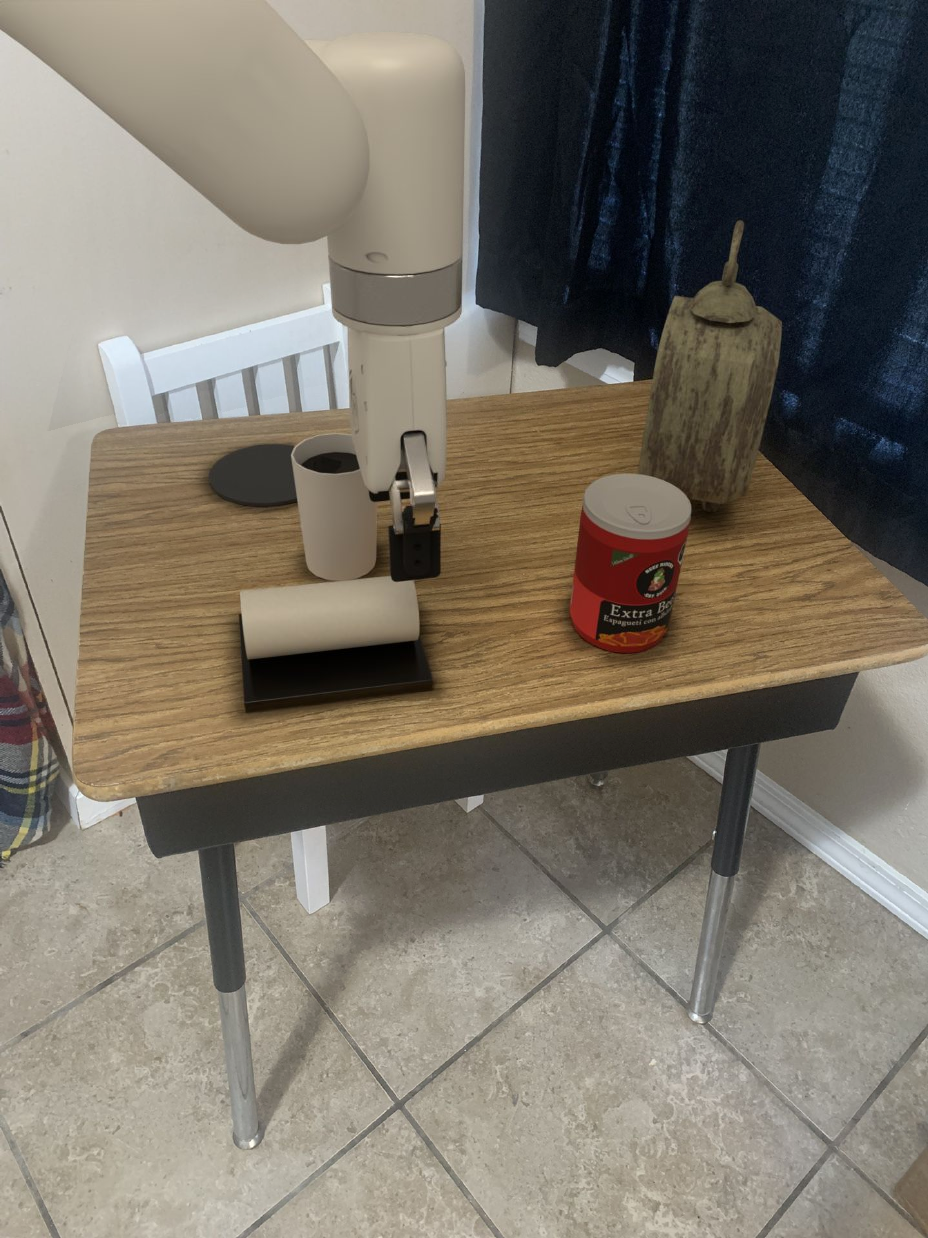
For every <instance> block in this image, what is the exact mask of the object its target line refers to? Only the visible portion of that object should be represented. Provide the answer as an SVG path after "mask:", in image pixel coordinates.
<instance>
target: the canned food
mask: <svg viewBox="0 0 928 1238" xmlns="http://www.w3.org/2000/svg"><path fill="white" fill-rule="evenodd" d="M691 515H692V504H691V501H690V499H689V498H687V496H686V495H685V494H684V493H683V492H682V491H681V490H680V489H678V488H677V487H675V486H674V485H672V484H670V483H668V482H666V481H664V480H661V479H658V478H655V477H651V476H647V475H640V474H638V473H615V474H610V475H605V476H602V477H600V478H597V479H596V480H594V481H593V482H591V483H590V484H589V485H587V487H586V489H585V491H584V495H583V498H582V504H581V510H580V516H579V517H580V518H579V526H578V536H577V545H576V553H575V561H574V570H573V578H572V587H571V596H570V603H569V613H570V619H571V622H572V626H573V627H574V629H575V631H576V632H577V634H578V635H579V636H580V637H581V638H583V639H584V640H585V641H586V642H588V643H589V644H590V645H592V646H595V647H596V648H599V649H602V650H605V651H609V652H613V653H614V652H615V653H622V654H631V653H639V652H642V651H646V650H649V649H651V648H653V647H655V645H657V644H659V642H660V641H661V639H662V638H663V637H664V635H665V634H666V632H667V631H668V629H669V625H670V622H671V617H672V612H673V607H674V604H675V603H674V602H675V598H676V593H677V588H678V583H679V578H680V574H681V570H682V569H681V568H682V564H683V559H684V553H685V550H686V545H687V540H688V535H689V531H690V524H691V518H692V516H691Z"/></svg>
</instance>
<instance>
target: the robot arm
mask: <svg viewBox="0 0 928 1238" xmlns="http://www.w3.org/2000/svg"><path fill="white" fill-rule="evenodd" d="M0 31H1V32H2V33H4V34H5V35H7V36H9V37H10V38H11V39H13V40H14V41H15V42H17V44H19V45H21V46H22V47H23V48H25V49H26V50H28V51H29V52H30V53H32V55H34V56H35V57H37V58H38V59H39V60H40V61H41V62H42V63H44V64H45V65H46V66H48V67H49V68H50V69H52V70H53V71H54V72H55V73H56V74H57V75H59V76H60V77H61V78H63V80H64V81H66V82H67V83H68V84H70V86H72V87H73V88H74V89H75V90H76V91H78V92H79V93H81V95H83V97H85V98H86V99H88V100H89V101H90V102H91V103H92V104H93V105H94V106H96V107H97V108H98V109H99V110H100V111H102V112H103V113H104V114H106V115H107V116H108V117H109V118H110V119H111V120H112V121H113V122H115V123H116V124H117V125H119V126H120V128H122V129H123V130H124V131H126V132H127V133H128V134H129V135H130V136H131V137H132V138H134V139H135V140H136V141H138V143H140V144H141V145H142V146H143V147H145V148H146V149H147V150H148V151H149V152H150V153H152V154H153V155H154V156H155V157H156V158H158V159H159V160H160V161H161V162H163V163H164V164H165V165H166V166H167V167H168V168H169V169H171V170H172V172H174V173H175V174H176V175H178V176H179V177H180V178H181V179H182V180H183V181H185V182H186V183H187V184H188V185H190V186H191V187H192V188H193V189H194V190H195V191H197V192H198V193H199V194H200V195H202V196H203V198H205V199H206V200H207V201H208V202H210V203H211V204H212V205H213V206H214V207H215V208H217V210H218V211H220V212H221V213H222V214H223V215H224V216H226V217H227V218H228V219H229V220H231V221H232V223H234V224H235V225H236V226H237V227H239V228H241V229H242V230H243V231H245V232H247V233H248V234H250V235H252V236H255V237H257V238H259V239H261V240H263V241H266V242H271V243H274V244H275V243H276V244H280V245H303V244H308V243H313V242H316V241H319V240H321V239H323V238H326V239H327V253H328V256H327V257H328V259H327V260H328V270H329V271H328V273H329V286H330V287H329V288H330V300H331V301H330V302H331V313H332V317H333V318H334V319H335V320H336V321H337V322H338V323H340V324H341V325H342V326H345V327H347V366H348V396H349V397H348V398H349V401H348V404H349V429H350V434H351V435H352V440H353V444H354V448H355V452H356V456H357V460H358V463H359V467H360V471H361V474H362V478H363V481H364V484H365V486H366V487H367V489H369V497H370V500H371V501H372V502H377V503H381V502H389V503H390V510H391V511H390V512H391V519H392V524H390V525H387V530H388V552H389V553H388V555H389V558H388V560H389V576H391V579H392V580H393V581H394V582H402V581H411V580H414V581H416V580H417V581H419V580H427V579H435V578H438V577H439V576H440V575H441V573H442V572H441V570H442V568H441V565H442V564H441V563H442V562H441V561H442V559H441V555H442V554H441V553H442V549H441V548H442V543H441V542H442V524H441V521H440V512H439V511H440V510H439V504H438V503H439V502H438V495H437V488H438V487H440V486H441V485H442V484H443V483H444V482H445V479H446V471H447V457H448V455H447V454H448V453H447V452H448V451H447V450H448V449H447V448H448V411H447V410H448V403H447V402H448V401H447V397H448V395H447V366H448V365H447V364H448V363H447V360H446V337H445V335H446V333H445V328H446V327H449V326H451V325H452V324H454V323H455V322H456V321H458V319H460V318H461V315H462V311H463V305H462V304H463V253H464V252H463V251H464V249H463V248H464V247H463V245H464V188H465V185H464V184H465V132H466V130H465V129H466V126H465V125H466V71H465V66H464V62H463V59H462V56H461V55H460V53H459V52H458V50H457V48H456V47H455V46H454V45H453V44H451V43H450V42H449V41H447V40H445V39H443V38H441V37H438V36H435V35H432V34H431V35H430V34H425V33H417V32H411V31H410V32H408V31H368V32H367V31H366V32H358V33H350V34H346V35H345V34H344V35H343V36H339V37H337V38H335V39H310V38H309V39H308V38H301V37H300V36H299V34H298V33H297V32H296V31H295V30H294V29H293V28H292V27H291V25H289V23H288V22H287V21H286V20H285V19H284V18H283V17H282V16H281V15H280V14H279V13H278V11H277V10H276V9H274V7H272V6H271V4H270V3H269V2H268V1H267V0H0ZM402 500H409V505H405V506H404V508H402Z"/></svg>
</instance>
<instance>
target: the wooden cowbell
mask: <svg viewBox="0 0 928 1238" xmlns="http://www.w3.org/2000/svg"><path fill="white" fill-rule="evenodd" d="M744 229H745V222H744V221H743V220H737V221H736V222H735V225H734V228H733V233H732V237H731V244H730V250H729V255H728V256H729V257H728V260H727V261H726V262H725V263H724V267H723V271H722V278H721V280H715V281H711V282H710V283H708V284H707V285H705V286H704V287H703V288H701V289H700V290H699V291H698V292H697V293H696V294H695V295H694V297H688V296H680V295H674V297H673V299H672V301H671V304H670V307H669V309H668V312H667V316H666V319H665V323H664V327H663V329H662V333H661V337H660V340H659V344H658V349H657V353H656V358H655V363H654V364H655V365H654V369H653V376H652V381H651V387H650V392H649V399H648V405H647V411H646V416H645V424H644V429H643V434H642V443H641V448H640V449H641V450H640V456H639V461H638V469H637V474H640V475H647V476H651V477H655V478H658V479H661V480H664V481H666V482H668V483H670V484H672V485H674V486H675V487H677V488H678V489H680V490H681V491H682V492H683V493H684V494H685V495H686V496H687V498H688V499H689V500H695V501H701V505H702V509H703V510H704V511H706V512H707V513H711V514H712V513H716V512H717V511H718V510H719V508H720V507H721V505H724V504H727V503H731V502H733V501H736V500H739V499H742V498H744V497H747V496H748V494H749V489H750V486H751V482H752V478H753V474H754V470H755V466H756V463H757V459H758V454H759V450H760V447H761V442H762V438H763V433H764V429H765V425H766V422H767V416H768V413H769V408H770V404H771V400H772V396H773V391H774V387H775V382H776V378H777V373H778V366H779V360H780V354H781V353H780V352H781V343H782V331H783V329H782V328H783V321H781V319H779V318H778V317H776V316H775V315H774V314H772V313H771V312H769V311H768V310H767V309H765V307H763V306H758V305H756V302H755V300H754V297H753V296H752V294H751V293H750V292H749V290H748V289H747V288H746V286H745V285H743V284H740V283H738V282H736V281H737V280H736V279H737V275H738V271H739V264H738V262H737V261H738V253H739V250H740V246H741V240H742V237H743V233H744Z"/></svg>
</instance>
